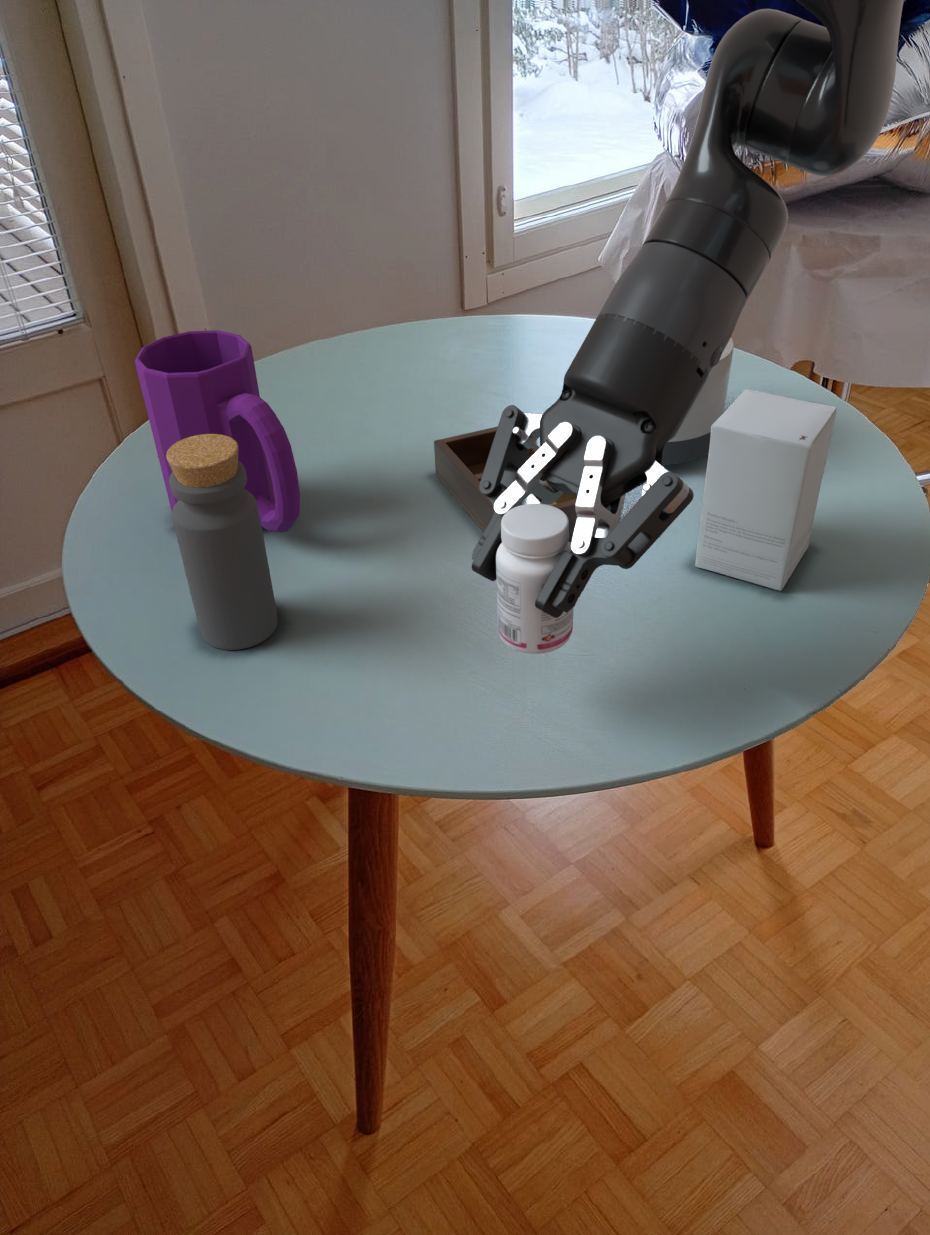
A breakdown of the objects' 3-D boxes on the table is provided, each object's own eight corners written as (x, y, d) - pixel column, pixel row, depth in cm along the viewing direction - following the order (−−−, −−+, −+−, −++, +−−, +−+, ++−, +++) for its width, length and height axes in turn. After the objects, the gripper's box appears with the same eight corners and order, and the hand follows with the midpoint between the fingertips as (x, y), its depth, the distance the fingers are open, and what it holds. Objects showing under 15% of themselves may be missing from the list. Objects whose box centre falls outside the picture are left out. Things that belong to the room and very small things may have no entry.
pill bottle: (573, 610, 64) (576, 499, 59) (572, 657, 61) (575, 543, 56) (500, 608, 65) (497, 498, 60) (495, 655, 61) (491, 541, 56)
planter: (742, 438, 96) (759, 334, 89) (675, 492, 88) (688, 382, 82) (629, 403, 102) (637, 304, 96) (558, 450, 95) (561, 346, 88)
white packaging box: (810, 547, 80) (842, 406, 73) (780, 594, 76) (811, 447, 68) (723, 523, 84) (745, 385, 76) (690, 566, 79) (710, 423, 71)
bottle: (293, 613, 75) (263, 437, 66) (249, 659, 71) (211, 478, 62) (230, 596, 77) (193, 423, 68) (184, 639, 73) (138, 461, 64)
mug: (237, 475, 93) (207, 320, 83) (346, 534, 84) (326, 368, 75) (153, 514, 87) (111, 353, 78) (260, 581, 79) (227, 410, 70)
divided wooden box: (513, 456, 94) (513, 422, 92) (592, 536, 83) (595, 499, 81) (435, 475, 92) (433, 440, 89) (505, 559, 80) (505, 522, 78)
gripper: (536, 283, 59) (400, 530, 61) (736, 345, 51) (574, 630, 52) (590, 342, 66) (465, 565, 67) (777, 406, 57) (631, 660, 58)
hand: (514, 592), depth 59 cm, fingers closed on pill bottle, 4 cm apart
